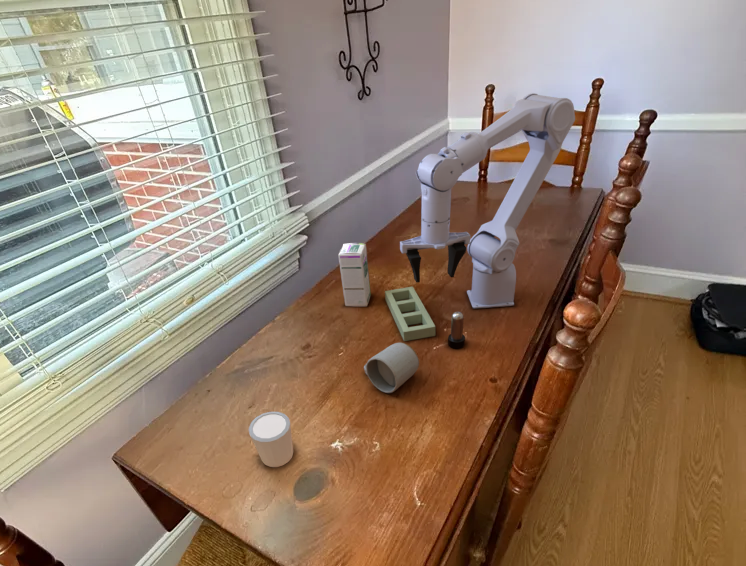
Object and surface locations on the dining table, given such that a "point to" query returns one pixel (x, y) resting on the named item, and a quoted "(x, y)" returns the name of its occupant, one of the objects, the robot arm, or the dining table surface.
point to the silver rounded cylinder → (456, 331)
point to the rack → (409, 314)
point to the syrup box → (355, 274)
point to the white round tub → (272, 438)
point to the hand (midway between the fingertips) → (433, 277)
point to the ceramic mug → (392, 367)
